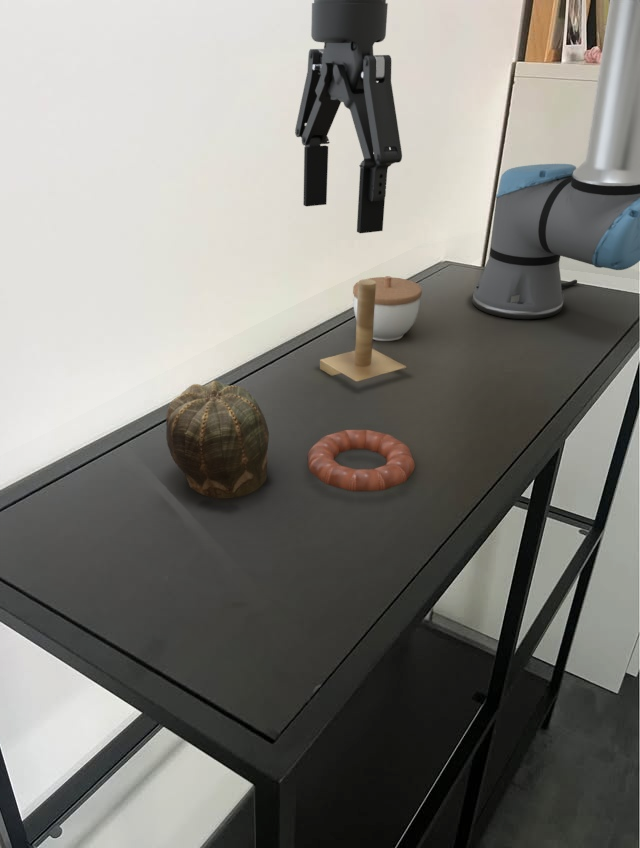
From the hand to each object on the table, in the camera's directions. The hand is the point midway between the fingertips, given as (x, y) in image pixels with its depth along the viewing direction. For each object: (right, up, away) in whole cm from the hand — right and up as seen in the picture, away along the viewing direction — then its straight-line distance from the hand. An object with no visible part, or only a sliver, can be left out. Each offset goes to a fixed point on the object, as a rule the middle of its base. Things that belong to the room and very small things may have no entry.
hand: (340, 217), depth 87 cm
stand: (+5, -14, +25) cm, 29 cm away
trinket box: (+10, -6, +38) cm, 39 cm away
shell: (-13, -31, -1) cm, 34 cm away
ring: (+2, -28, +1) cm, 28 cm away
